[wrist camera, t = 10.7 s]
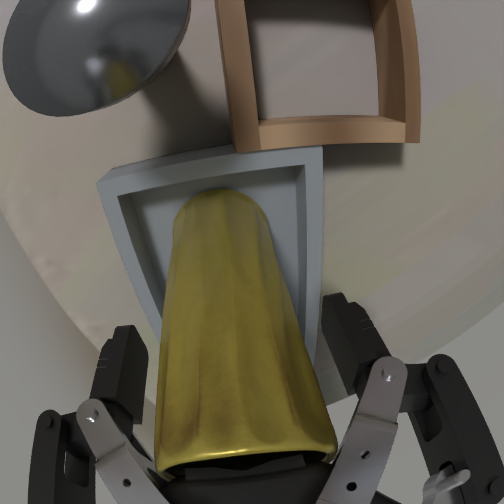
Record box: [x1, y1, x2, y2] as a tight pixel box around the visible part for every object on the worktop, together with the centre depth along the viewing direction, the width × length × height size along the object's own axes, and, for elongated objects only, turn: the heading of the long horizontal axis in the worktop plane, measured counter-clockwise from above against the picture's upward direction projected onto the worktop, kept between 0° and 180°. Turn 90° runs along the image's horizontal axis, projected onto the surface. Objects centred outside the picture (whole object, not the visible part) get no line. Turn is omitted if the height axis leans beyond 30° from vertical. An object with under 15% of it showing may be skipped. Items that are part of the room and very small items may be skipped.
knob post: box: [3, 0, 191, 117], centre depth 8 cm, size 6×6×9 cm
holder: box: [214, 0, 421, 153], centre depth 12 cm, size 11×11×3 cm
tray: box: [96, 144, 323, 368], centre depth 20 cm, size 12×21×3 cm, turn 6°
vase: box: [154, 189, 338, 481], centre depth 12 cm, size 6×6×14 cm
